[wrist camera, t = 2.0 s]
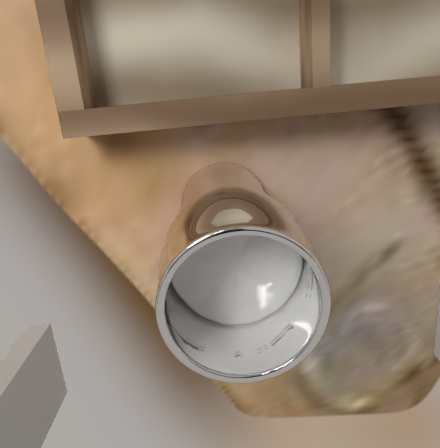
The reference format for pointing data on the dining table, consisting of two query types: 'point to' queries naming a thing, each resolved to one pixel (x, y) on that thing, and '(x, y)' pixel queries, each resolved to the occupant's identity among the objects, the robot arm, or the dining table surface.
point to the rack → (234, 60)
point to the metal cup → (238, 281)
